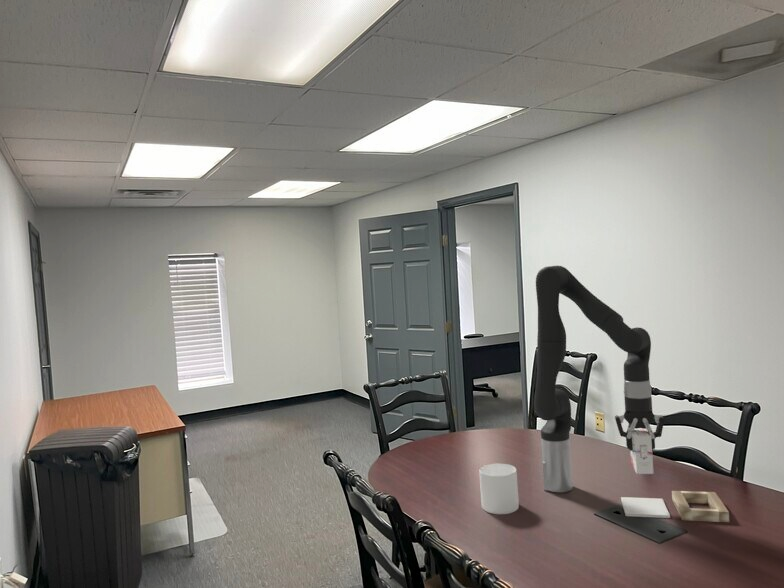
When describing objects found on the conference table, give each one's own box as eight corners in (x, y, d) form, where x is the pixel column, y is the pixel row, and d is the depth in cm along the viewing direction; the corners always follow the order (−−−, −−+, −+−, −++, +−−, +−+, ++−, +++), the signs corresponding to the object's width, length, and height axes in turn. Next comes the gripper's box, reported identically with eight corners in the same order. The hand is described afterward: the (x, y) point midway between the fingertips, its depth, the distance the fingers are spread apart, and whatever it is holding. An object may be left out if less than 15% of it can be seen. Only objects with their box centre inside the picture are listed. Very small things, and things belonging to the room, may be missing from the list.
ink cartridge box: (630, 464, 176) (627, 417, 175) (647, 464, 175) (644, 417, 174) (636, 474, 167) (633, 425, 167) (654, 474, 166) (651, 425, 166)
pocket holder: (682, 520, 162) (681, 509, 162) (672, 500, 176) (671, 490, 175) (729, 522, 159) (728, 511, 159) (715, 501, 172) (714, 492, 172)
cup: (520, 500, 184) (518, 464, 183) (516, 515, 173) (514, 477, 172) (485, 498, 188) (482, 462, 187) (478, 513, 177) (476, 475, 176)
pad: (625, 516, 167) (625, 513, 167) (621, 499, 179) (620, 497, 179) (670, 518, 164) (670, 515, 164) (662, 501, 175) (662, 498, 175)
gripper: (613, 397, 168) (616, 453, 169) (666, 397, 164) (669, 454, 165) (611, 392, 176) (614, 445, 176) (661, 391, 172) (664, 446, 172)
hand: (640, 449), depth 171 cm, fingers closed on ink cartridge box, 5 cm apart
